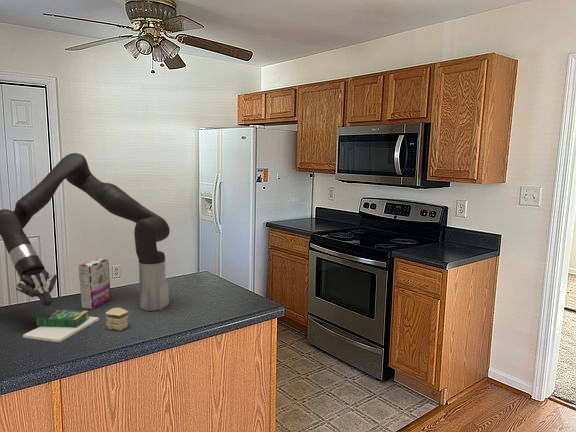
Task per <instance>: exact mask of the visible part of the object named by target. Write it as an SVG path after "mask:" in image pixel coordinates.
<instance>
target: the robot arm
mask: <svg viewBox="0 0 576 432" xmlns="http://www.w3.org/2000/svg"><path fill="white" fill-rule="evenodd" d="M64 180H66V181H67V182H68V183H69V184H70V185H72V186H74V187H76V188H78V189H79V190H81V191H82V192H84V193H86V195H88V196H89V197H90V198H91V199H92V200H94V201H95V202H97V204H99V205H100V206H101V207H103V209H105V210H106V211H107V212H108V213H110V214H112V215H114V216H116V217H120V218H122V219H125V220H128V221H131V222H133V223H135V224H134V225H135V226H134V231H133V232H134V245H135V252H136V255H137V258H138V281H139V282H138V284H139V303H140V306H139V308H140V310H143V311H149V312H150V311H162V310H163V309H165V308H166V307H167V306H169V304H170V303H169V302H170V301H169V297H170V296H169V281H168V279H167V278H166V276H167V275H166V255H165V253H164V252H163V251H159V250H158V247H157V243H159V242H162V241H164V240H166V239H167V238H168V237H169V235H170V226H169V223H168V222H167V221H166V219H164V218H163V217H161V216H160V215H158V214H156V213H155V212H154V211H152V210H150V209H148V208H147V207H145V206H144V205H142V204H141V203H140V202H138V201H137V200H136V199H134V198H133V197H131V196H130V195H129V194H127V192H125V191H124V190H123V189H121V188H120V187H119V186H117V185H115V184H114V183H110V182H103V181H102V180H99V179H98V178H97V177H96V176H95V175H93V173H92V172H91V170H90V168H89V165H88V161H87V159H86V157H85V156H84V155H83V154H81V153H77V152H72V153H69V154H67V155H65V156H64V157H63V158H61V159H60V161H58V163H57V164H56V165H55V166H54V167H53V168H52V169H51V170H50V172H49V173H47V174H46V176H45V177H44V178H43V179H41V181H40V182H39V183H37V184H36V185H35V186H34V187H33V188H32V189H30V191H28V192H27V193H25V195H23V196H22V197H21V198H19V199H18V200H17V201H16V203H15V205H14V210H11V209H8V208H2V209H0V237H1V239H2V240H3V244H4V246H5V249H6V251H7V253H8V255H9V257H10V261H11V262H12V265H13V267H14V269H15V271H16V272H17V275H18V277H19V278H20V280H19V281H20V282H18V283H17V285H16V287H15V290H16V291H18V292H20V293H22V294H24V295H26V296H28V297H30V298H34V297H36V298H39V300H40V303H41V304H42V305H43V306H45V307H49V306H51V304H52V303H53V297H52V295H51V292H52V291H53V289H54V288H55V284H56V282H57V280H58V275H57V274H54V275H52V274H50V273H49V272H48V271H47V270H46V269H45V266H44V264H43V262H42V260H41V258H40V256H39V254H38V252H37V251H36V249H35V248H34V247H33V245H32V243H31V241H30V239H29V237H28V236H27V235H26V233H25V230H24V228H25V227H26V226H27V225H28V223H29V222H30V221H31V219H32V218H33V217H34V215H36V214H37V213H39V212H40V210H42V209H43V208H45V206H47V205H48V204H49V202H50V201H51V200H52V199H53V197H54V194H55V193H56V191H58V188H59V187H60V185H61V184H62V183H63V181H64ZM48 283H49V286H48Z"/></svg>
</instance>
